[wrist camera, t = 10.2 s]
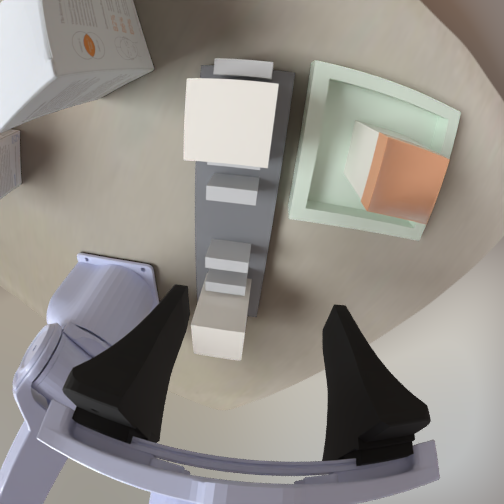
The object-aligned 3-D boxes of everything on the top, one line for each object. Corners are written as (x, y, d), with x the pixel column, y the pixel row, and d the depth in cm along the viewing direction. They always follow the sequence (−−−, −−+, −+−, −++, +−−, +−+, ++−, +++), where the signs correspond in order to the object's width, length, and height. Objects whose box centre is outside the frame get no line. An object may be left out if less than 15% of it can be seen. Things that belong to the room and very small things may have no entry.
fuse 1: (210, 135, 17) (183, 160, 12) (214, 79, 15) (186, 78, 10) (270, 141, 17) (267, 168, 12) (277, 84, 15) (278, 83, 10)
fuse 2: (207, 303, 26) (193, 353, 21) (206, 272, 24) (190, 324, 19) (247, 309, 26) (241, 360, 21) (251, 278, 24) (244, 332, 19)
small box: (77, 26, 12) (-22, 28, 3) (133, -9, 11) (38, -41, 2) (98, 101, 16) (-5, 137, 8) (157, 71, 15) (55, 77, 6)
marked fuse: (342, 173, 18) (366, 211, 13) (354, 119, 16) (387, 136, 11) (391, 184, 18) (426, 224, 13) (405, 134, 16) (449, 159, 11)
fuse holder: (199, 305, 28) (192, 329, 25) (204, 62, 15) (190, 58, 12) (256, 313, 28) (254, 338, 25) (294, 69, 14) (299, 66, 12)
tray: (287, 206, 20) (288, 218, 19) (311, 62, 14) (315, 60, 12) (410, 228, 20) (419, 240, 19) (446, 107, 14) (460, 112, 12)
